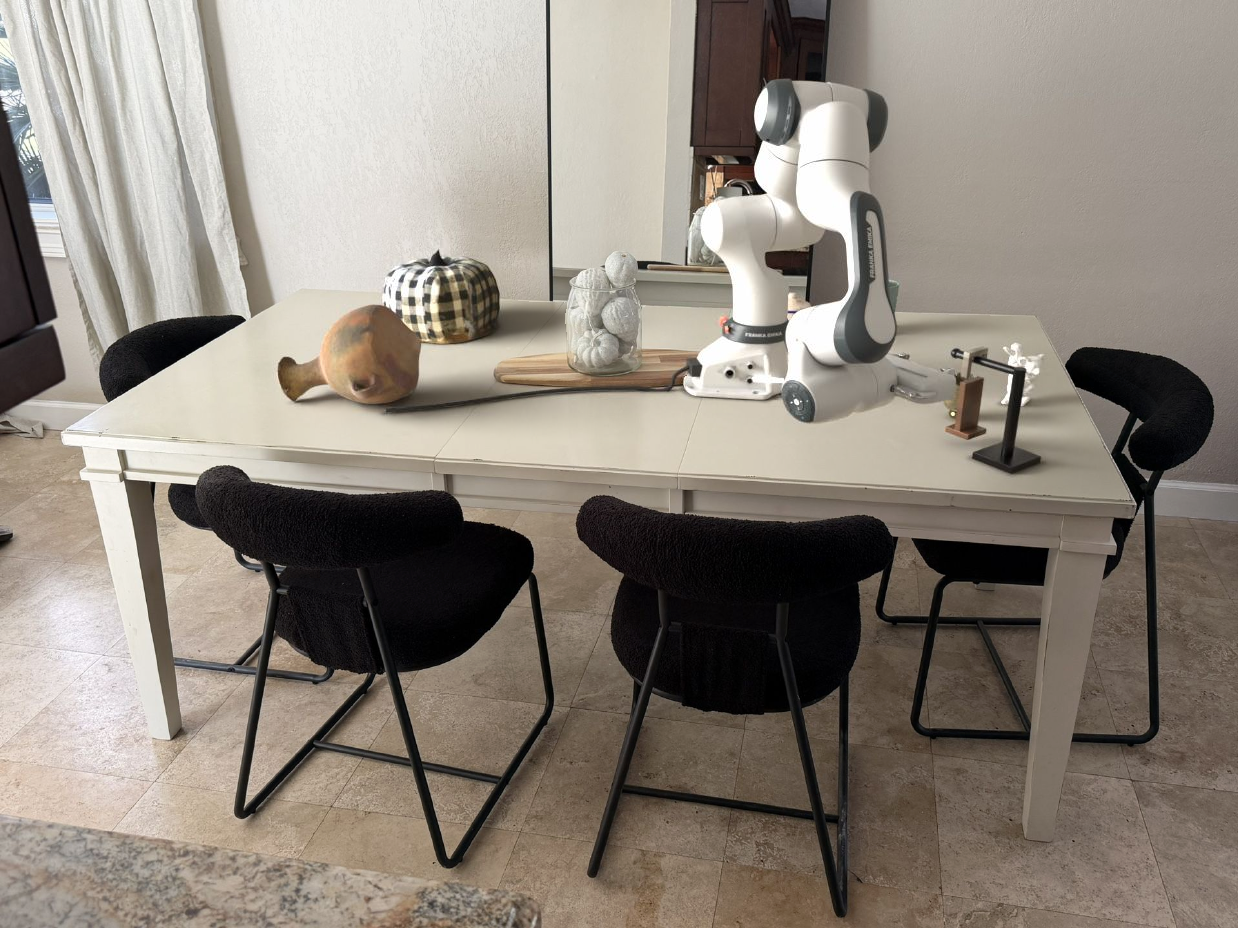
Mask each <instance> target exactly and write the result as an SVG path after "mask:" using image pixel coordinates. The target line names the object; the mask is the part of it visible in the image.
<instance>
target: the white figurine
mask: <svg viewBox="0 0 1238 928" xmlns="http://www.w3.org/2000/svg"><path fill="white" fill-rule="evenodd" d="M1003 350H1004V351H1005V353H1007V354H1008V355H1009V358H1008V365H1011V366H1014V367H1023V368H1026V369H1027V370H1026V377H1025V383H1024V389H1023V396H1022V402H1021V407H1024V406H1025V405H1026V404H1027V403H1028V402H1030V400H1031V398H1030V397H1029V396H1026V395H1028V394H1030V393H1032V392H1034V391H1035V390H1036V388H1037V383H1036V381H1037V377H1038V375H1041V373H1042V371H1041V369H1042V367H1043V363H1044V360H1045V357H1046V354H1045V353H1040V354H1038V355H1028V356H1023V345H1022V344H1021V343H1019V342H1014V343H1012V344H1011V346H1010V348H1009V347H1008V346H1003ZM1012 377H1013V375H1011V374H1008V379H1007V385H1006V391H1007V393H1006V395H1005V396H1004V398H1002V400H1001V402H1000V404H1002V405H1008V403H1009V397H1010V390H1011V384H1012Z"/></svg>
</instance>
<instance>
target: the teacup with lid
mask: <svg viewBox="0 0 1238 928" xmlns="http://www.w3.org/2000/svg"><path fill="white" fill-rule="evenodd" d="M809 307H812V305H811V303H810V302H808V301H807V300H803V299H802V298H801V297H798V295H797V293H795V292H789V297H788V315H787V318H788V320H790V318H791V317H792V316H793V315H794V314H795V313H796V312H797V311H799V310H801V309H805V308H809Z"/></svg>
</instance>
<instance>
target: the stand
mask: <svg viewBox="0 0 1238 928" xmlns="http://www.w3.org/2000/svg"><path fill="white" fill-rule="evenodd" d="M964 352H965V351H964V350H961V348H958V347H955V348H953V349H951V352H950V356H951V358H953V359H955V360H956V359H959V360H962V361H963V357H964ZM972 364H976V365H979V366H981V367H985V368H989V369H991V370H995V371H998V372H1002V373H1004V374H1007V375H1010V374H1011V375H1013V377H1012V384H1011V390H1010V397H1009V403H1008V404H1007V411H1006V418H1005V424H1004V430H1003V437H1002V441H1000V442H997V443H995V444H992V445H989V446H987V447H984V448H980V449H978V450H974V451H973V452H972V456H971V459H972V460H975V461H978V462H980V463H982V464H985V465H988V466H990V467H992V468H995V469H998V470H1000V471H1002V472H1004V473H1008V474H1011V475H1013V474H1014V473H1017V472H1020V471H1022V470H1025V469H1027V468H1030V467H1032V466H1035V465H1038V464H1040V463H1041V460H1042V456H1041V455H1038V454H1037V453H1034V452H1031V451H1028V450H1025V449H1023V448H1020V447H1018V446H1015V445H1016V439H1017V433H1018V427H1019V420H1020V415H1021V408H1022V406H1021V402H1022V396H1024V395H1023V389H1024V383H1025V377H1026V370H1027V369H1026V368H1023V367H1014V366H1011V365H1009V364H1007V363H1003V362H1001V361H997V360H993V359H990V358H988V357H987V358H984V357H981V356H977V357H973V359H972Z"/></svg>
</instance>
